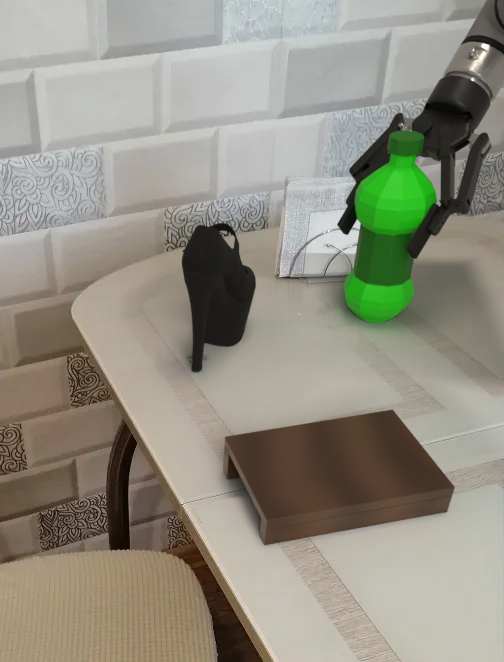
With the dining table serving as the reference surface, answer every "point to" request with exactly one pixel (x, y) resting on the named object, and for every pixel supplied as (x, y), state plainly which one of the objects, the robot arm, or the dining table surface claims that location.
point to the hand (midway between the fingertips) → (375, 241)
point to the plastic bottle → (388, 231)
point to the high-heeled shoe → (216, 289)
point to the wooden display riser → (336, 475)
